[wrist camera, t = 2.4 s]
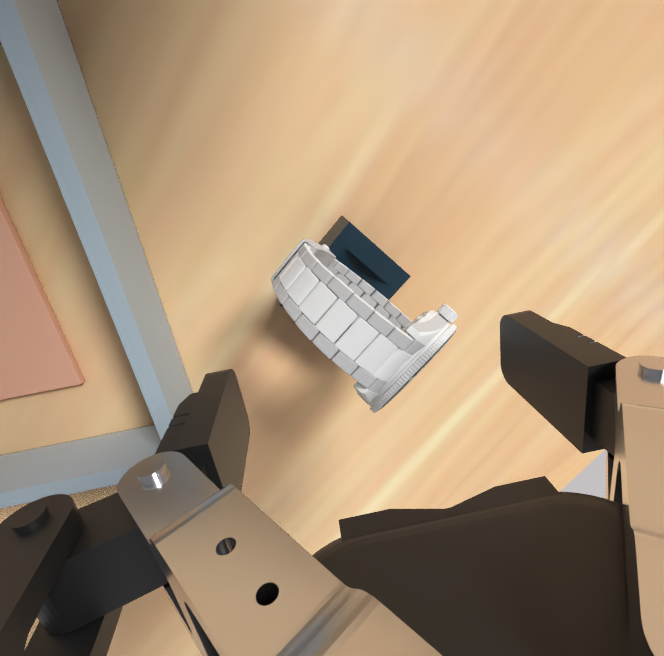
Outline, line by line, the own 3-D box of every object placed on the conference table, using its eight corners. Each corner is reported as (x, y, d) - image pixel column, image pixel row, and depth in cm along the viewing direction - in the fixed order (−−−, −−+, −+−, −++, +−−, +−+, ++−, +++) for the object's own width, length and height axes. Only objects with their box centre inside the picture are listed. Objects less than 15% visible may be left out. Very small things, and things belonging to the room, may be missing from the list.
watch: (358, 348, 26) (404, 465, 16) (256, 270, 23) (231, 347, 13) (419, 282, 25) (512, 361, 14) (318, 192, 22) (344, 211, 12)
